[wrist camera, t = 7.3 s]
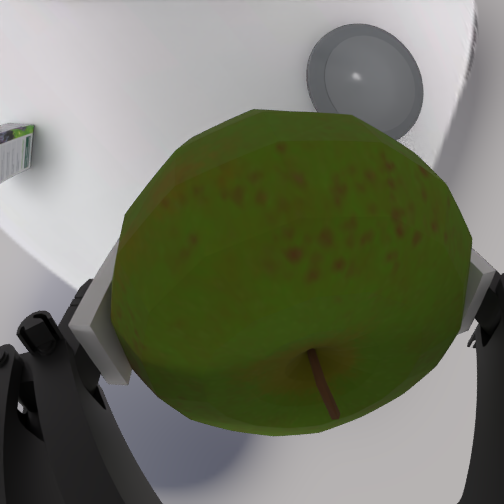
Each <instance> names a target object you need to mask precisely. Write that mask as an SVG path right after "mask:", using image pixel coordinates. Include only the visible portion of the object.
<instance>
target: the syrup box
mask: <svg viewBox="0 0 504 504" xmlns="http://www.w3.org/2000/svg"><path fill="white" fill-rule="evenodd" d="M33 129H34V125H26V124H9V123H7V124H3V125H0V184H1V183H2V182H4V181H6V180H7V179H9V178H11V177H13V176H15V175H17V174H19V173H21V172H23V171H25V170H27V169H29V168H30V167H31V162H30V161H31V150H32V139H33Z"/></svg>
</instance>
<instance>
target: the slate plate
mask: <svg viewBox="0 0 504 504" xmlns="http://www.w3.org/2000/svg"><path fill="white" fill-rule="evenodd" d="M307 86H308V91H309V94H310V97H311V100H312V102H313V105H314V106H315V108H316V110H317V112H319V113H335V114H348V115H353V116H355V117H357V118H359V119H360V120H362V121H364V122H366V123H368V124H369V125H371V126H373V127H374V128H376V129H378V130H380V131H381V132H383V133H385V134H386V135H388V136H389V137H391V138H393V139H394V140H397V139H399V138H401V137H402V136H403V135H405V134H406V133H407V132H408V131H409V130H410V129H411V128H412V126H413V125H414V124H415V122H416V120H417V119H418V116H419V114H420V111H421V107H422V103H423V83H422V78H421V74H420V71H419V68H418V66H417V64H416V61H415V60H414V58H413V56H412V55H411V53H410V52H409V51H408V49H407V48H406V47H405V46H404V45H403V44H402V43H401V42H400V41H399V40H398V39H397V38H396V37H394V36H393V35H391V34H390V33H388V32H386V31H385V30H383V29H380V28H378V27H375V26H371V25H366V24H349V25H344V26H341V27H338V28H336V29H334V30H333V31H331V32H329V33H327V34H326V35H325V36H324V37H322V38H321V39H320V40H319V41H318V43H317V44H316V45H315V47H314V48H313V50H312V52H311V54H310V57H309V60H308V64H307Z"/></svg>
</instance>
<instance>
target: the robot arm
mask: <svg viewBox="0 0 504 504" xmlns="http://www.w3.org/2000/svg"><path fill="white" fill-rule="evenodd" d="M119 239H120V238H119ZM119 239H118V241H117V242H116V244H115V245H114V247H113V248H112V250H111V251H110V253H109V255H108V256H107V258H106V259H105V261H104V263H103V264H102V266H101V267H100V269H99V271H98V272H97V274H96V276H95V277H94V279H89V280H88V281H87V282H86V283H84V284H83V285H82V286H81V287H80V288H79V290H78V292H77V294H76V295H75V299H73V301H72V302H71V304H70V307H68V309H67V311H66V313H65V315H64V316H63V318H62V320H61V322H60V324H59V326H57V325H56V323H55V321H54V320H53V318H52V316H51V315H50V313H49V312H47V311H38V312H35V313H32V314H31V315H29V316H28V317H26V319H24V320H23V321H22V322H21V324H20V326H19V327H18V330H17V336H18V337H19V339H20V340H21V342H22V343H23V345H24V346H25V347H26V349H27V350H28V351H29V352H27V353H23V354H18V352H17V351H16V350H15V348H14V347H13V346H12V345H10V344H6V345H3V346H1V347H0V504H162V502H161V501H160V499H159V498H158V496H157V495H156V493H155V492H154V490H153V489H152V487H151V485H150V484H149V482H148V481H147V479H146V477H145V476H144V474H143V472H142V471H141V469H140V467H139V466H138V464H137V462H136V460H135V458H134V457H133V455H132V453H131V451H130V449H129V447H128V445H127V443H126V441H125V439H124V437H123V435H122V433H121V431H120V429H119V427H118V425H117V423H116V420H115V418H114V416H113V414H112V412H111V409H110V407H109V404H108V402H107V400H106V397H105V395H104V392H103V390H102V388H101V387H100V385H99V384H98V381H99V378H100V374H101V375H102V376H103V378H104V379H105V380H106V381H107V383H108V384H115V385H128V384H129V380H130V375H131V371H132V368H131V366H130V364H129V362H128V360H127V357H126V355H125V353H124V351H123V349H122V346H121V344H120V342H119V339H118V337H117V335H116V332H115V330H114V327H113V325H112V322H111V293H112V277H113V271H114V265H115V260H116V254H117V249H118V244H119ZM474 318H475V319H476V320H477V322H478V323H479V324H478V326H477V327H476V329H475V331H474V333H473V335H472V336H471V338H470V340H469V342H468V345H467V347H470V345H471V343H472V342H473V341H474V340H476V342H475V344H474V345H473V348H476V353H477V406H476V420H475V431H474V439H473V446H472V453H471V459H470V465H469V470H468V475H467V479H466V484H465V488H464V492H463V495H462V498H461V499H460V501H459V502H458V503H457V504H504V273H503V274H502V275H500V274H499V273H498V272H497V271H496V270H495V269H494V268H493V267H492V266H491V265H490V264H489V263H488V262H487V261H486V260H485V259H484V258H482V257H481V256H480V255H479V254H478V253H477V252H476V251H475V250H474V249H471V260H470V269H469V277H468V284H467V291H466V298H465V305H464V312H463V318H462V324H461V329H460V331H459V332H458V334H460V333H463V332H465V331H468V330H469V328H470V326H471V324H472V322H473V320H474ZM458 334H457V335H458ZM18 402H19V403H20V404H21V405H22V406H23V413H21V412H20V411H19V410H18V409H17V407H18Z"/></svg>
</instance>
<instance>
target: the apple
mask: <svg viewBox="0 0 504 504" xmlns="http://www.w3.org/2000/svg"><path fill="white" fill-rule="evenodd" d="M471 249H472V237H471V235H470V232H469V230H468V227H467V225H466V223H465V221H464V219H463V216H462V214H461V212H460V210H459V208H458V206H457V204H456V202H455V200H454V198H453V196H452V194H451V192H450V190H449V188H448V186H447V185H446V184H445V182H444V181H443V180H442V179H441V178H440V177H439V176H438V175H437V174H436V173H435V172H434V171H433V170H432V169H431V168H430V167H429V166H428V165H427V164H426V163H425V162H424V161H423V160H422V159H421V158H420V157H418V156H417V155H416V154H415V153H414V152H413V151H411V150H410V149H408V148H407V147H405V146H404V145H402V144H400V143H399V142H397V141H396V140H394V139H393V138H391V137H389V136H388V135H386V134H385V133H383V132H381V131H380V130H378V129H376V128H374V127H373V126H371V125H369V124H368V123H366V122H364V121H362V120H360V119H359V118H357V117H355V116H353V115H348V114H335V113H319V112H290V111H277V110H259V109H253V110H250V111H248V112H245V113H243V114H241V115H239V116H236V117H234V118H232V119H230V120H227V121H225V122H223V123H221V124H219V125H217V126H214V127H212V128H210V129H208V130H206V131H204V132H202V133H200V134H198V135H196V136H194V137H192V138H191V139H189V140H188V141H187V142H186V143H184V144H183V145H182V146H181V147H179V148H178V149H177V150H176V151H175V152H174V153H173V154H172V155H171V157H170V158H169V159H168V160H167V161H166V162H165V164H164V165H163V166H162V167H161V168H160V170H159V171H158V172H157V173H156V175H155V176H154V177H153V178H152V180H151V181H150V182H149V183H148V185H147V186H146V187H145V188H144V190H143V191H142V192H141V194H140V195H139V196H138V198H137V199H136V200H135V201H134V203H133V204H132V206H131V207H130V208H129V210H128V211H127V212H126V214H125V217H124V221H123V225H122V230H121V234H120V239H119V244H118V249H117V254H116V260H115V265H114V271H113V277H112V293H111V322H112V325H113V327H114V330H115V332H116V335H117V337H118V339H119V342H120V344H121V346H122V349H123V351H124V353H125V355H126V357H127V360H128V362H129V364H130V366H131V368H132V369H133V370H134V372H135V373H136V374H137V375H138V376H139V377H140V378H141V380H142V381H143V382H144V383H145V384H146V385H147V386H148V387H149V388H150V389H151V390H152V391H153V393H154V394H155V395H156V396H157V397H159V398H160V399H161V400H163V401H164V402H166V403H167V404H168V405H170V406H171V407H173V408H174V409H176V410H177V411H179V412H180V413H181V414H183V415H184V416H186V417H188V418H189V419H191V420H194V421H197V422H201V423H204V424H208V425H211V426H215V427H219V428H223V429H227V430H231V431H237V432H244V433H251V434H259V435H268V436H286V435H300V434H311V433H319V432H322V431H325V430H328V429H331V428H334V427H336V426H339V425H342V424H344V423H347V422H350V421H352V420H355V419H357V418H360V417H362V416H364V415H366V414H368V413H370V412H372V411H374V410H376V409H378V408H379V407H381V406H383V405H385V404H387V403H388V402H390V401H392V400H394V399H396V398H397V397H399V396H401V395H402V394H403V393H405V392H406V391H407V390H409V389H410V388H411V387H412V386H414V385H415V384H416V383H417V382H418V381H420V380H421V379H422V378H423V377H424V376H425V375H427V374H428V373H429V372H430V371H431V370H432V369H434V368H435V367H436V366H437V364H438V363H439V361H440V360H441V359H442V357H443V356H444V354H445V353H446V351H447V350H448V348H449V347H450V345H451V343H452V342H453V340H454V339H455V337H456V336H457V334H458V332H459V331H460V329H461V324H462V318H463V312H464V305H465V298H466V291H467V284H468V277H469V269H470V260H471Z"/></svg>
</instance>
